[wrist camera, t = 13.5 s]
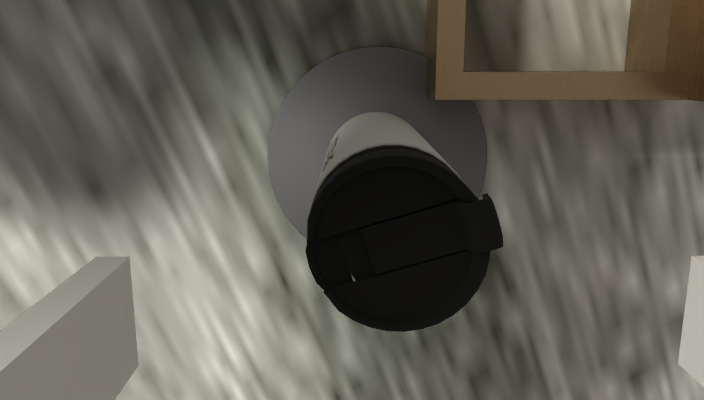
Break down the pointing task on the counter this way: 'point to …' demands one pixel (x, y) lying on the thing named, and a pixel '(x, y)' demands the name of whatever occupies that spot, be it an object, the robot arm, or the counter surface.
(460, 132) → the mat
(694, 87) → the brown wooden open box
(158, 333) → the counter surface
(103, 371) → the robot arm
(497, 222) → the travel mug
